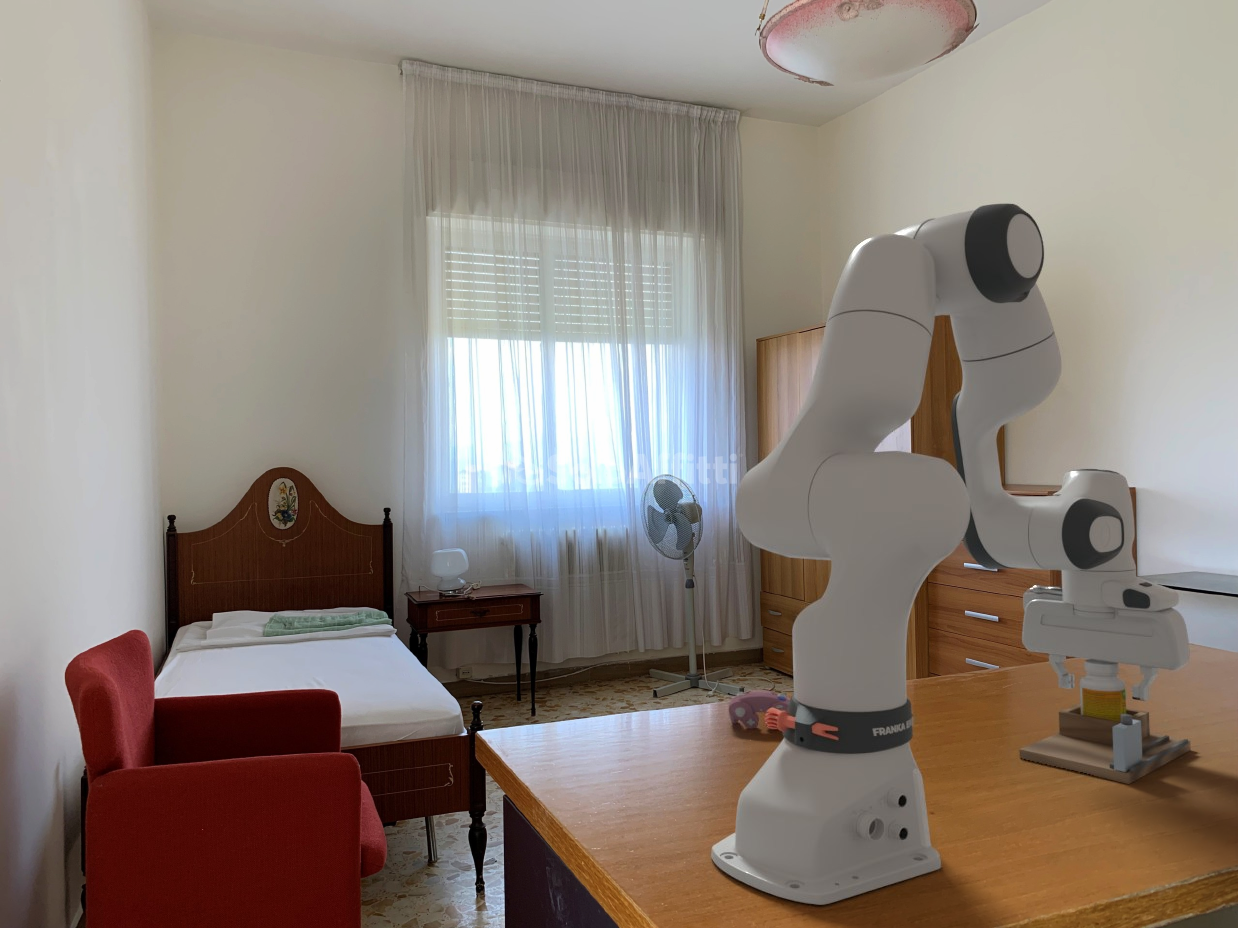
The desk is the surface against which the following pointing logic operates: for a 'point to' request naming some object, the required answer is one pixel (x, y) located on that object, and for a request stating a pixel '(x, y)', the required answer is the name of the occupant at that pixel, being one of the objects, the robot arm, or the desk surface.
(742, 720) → the video game controller
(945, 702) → the desk surface
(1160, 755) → the board
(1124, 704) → the supplement bottle
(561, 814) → the desk surface
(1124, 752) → the cover panel
